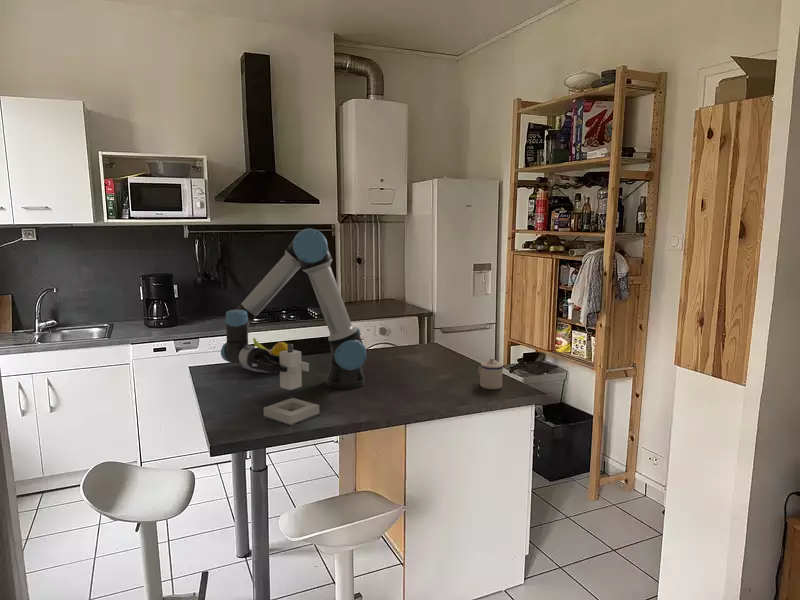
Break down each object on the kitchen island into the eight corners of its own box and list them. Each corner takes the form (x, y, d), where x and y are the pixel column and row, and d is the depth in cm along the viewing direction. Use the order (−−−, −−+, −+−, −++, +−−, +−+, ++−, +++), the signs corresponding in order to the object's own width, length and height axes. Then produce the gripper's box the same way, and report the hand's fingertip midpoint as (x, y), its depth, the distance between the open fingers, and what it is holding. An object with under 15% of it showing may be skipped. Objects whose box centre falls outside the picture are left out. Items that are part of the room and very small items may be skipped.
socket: (255, 415, 185) (255, 405, 185) (284, 404, 196) (284, 395, 195) (290, 426, 175) (290, 416, 175) (319, 415, 186) (319, 405, 185)
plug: (280, 387, 182) (279, 344, 180) (291, 383, 186) (290, 342, 184) (290, 390, 179) (289, 347, 177) (301, 386, 183) (301, 344, 181)
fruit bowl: (305, 374, 235) (305, 348, 233) (239, 380, 225) (238, 353, 224) (294, 358, 261) (293, 335, 259) (234, 363, 251) (234, 339, 250)
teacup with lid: (507, 387, 219) (508, 359, 217) (490, 391, 214) (491, 362, 212) (486, 379, 229) (487, 352, 227) (470, 383, 224) (471, 355, 222)
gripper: (275, 363, 200) (321, 374, 186) (234, 373, 186) (280, 386, 172) (274, 342, 199) (321, 352, 185) (233, 352, 184) (280, 363, 171)
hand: (301, 369), depth 179 cm, fingers closed on plug, 5 cm apart
